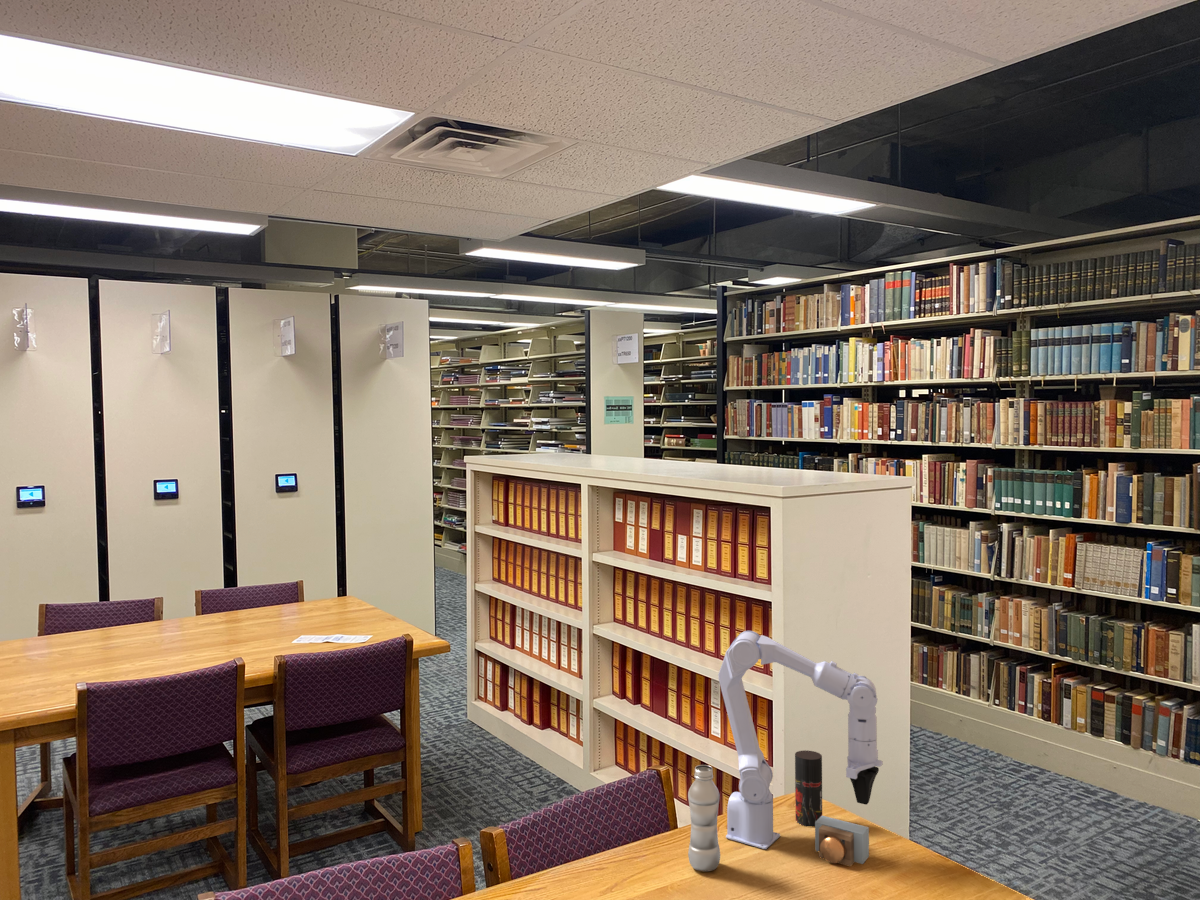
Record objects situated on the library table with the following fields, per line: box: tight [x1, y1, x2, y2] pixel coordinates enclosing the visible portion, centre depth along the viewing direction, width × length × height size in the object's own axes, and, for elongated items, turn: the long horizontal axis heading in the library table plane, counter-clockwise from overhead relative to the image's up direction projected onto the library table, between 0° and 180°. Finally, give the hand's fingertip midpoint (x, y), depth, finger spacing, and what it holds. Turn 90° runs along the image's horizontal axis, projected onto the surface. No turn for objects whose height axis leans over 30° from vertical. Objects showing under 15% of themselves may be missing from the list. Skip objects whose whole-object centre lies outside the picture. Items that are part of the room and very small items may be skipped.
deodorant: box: [794, 749, 823, 827], centre depth 188 cm, size 6×6×15 cm
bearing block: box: [814, 815, 870, 865], centre depth 172 cm, size 10×4×6 cm, turn 54°
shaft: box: [820, 836, 846, 864], centre depth 172 cm, size 11×5×5 cm, turn 144°
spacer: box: [818, 825, 855, 867], centre depth 169 cm, size 7×2×6 cm, turn 54°
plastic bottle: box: [687, 764, 721, 872], centre depth 166 cm, size 6×7×20 cm
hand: (862, 802), depth 173 cm, fingers closed
